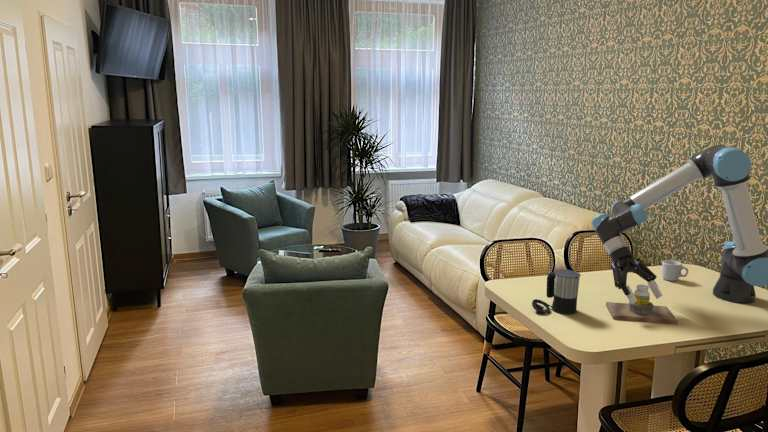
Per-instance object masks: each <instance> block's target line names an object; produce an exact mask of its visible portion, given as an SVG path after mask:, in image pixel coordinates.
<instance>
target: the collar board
mask: <svg viewBox="0 0 768 432" xmlns="http://www.w3.org/2000/svg"><path fill="white" fill-rule="evenodd" d="M628 302H629V303H627V302H626V303H625V302H613V301H612V302H611V301H606V302H605V306H606V309H607V310H608V312H609V314H610V316H611V318H612V319H613V320H618V321H619V320H621V321H622V320H623V321H633V322H643V323H644V322H647V323H657V324H669V325H670V324H671V325H678V321H679V320H678V319H677V317H676V316H675V315H674V313H672V311H671V310H670V309H669V307H668V306H667V305H654V303H652V302H651V301H649V306H639V305H636V304H631V303H630V301H629V300H628Z"/></svg>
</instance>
